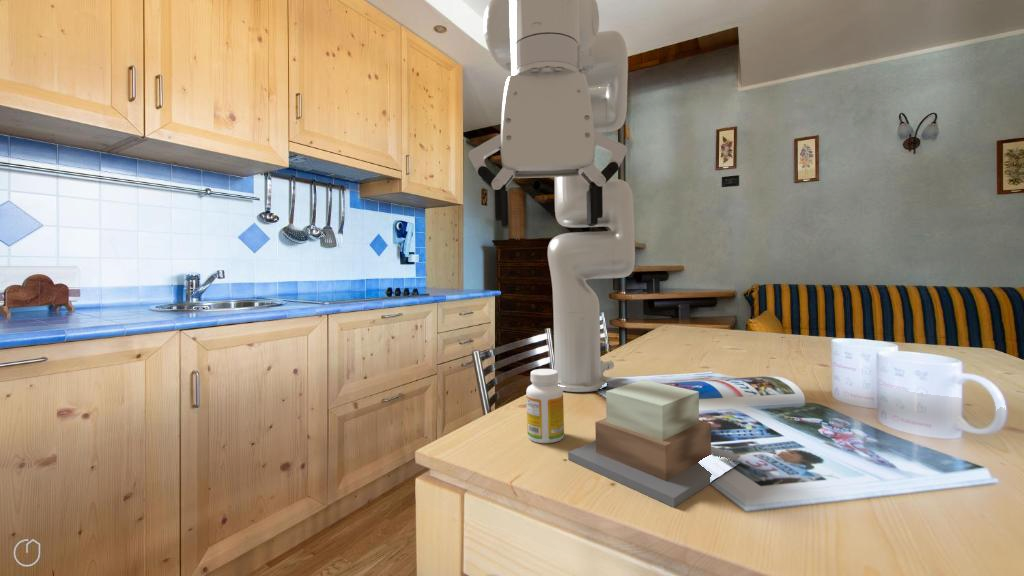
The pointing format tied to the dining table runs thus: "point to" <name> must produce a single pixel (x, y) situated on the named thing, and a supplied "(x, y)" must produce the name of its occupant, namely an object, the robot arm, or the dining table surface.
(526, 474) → the dining table surface
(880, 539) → the dining table surface
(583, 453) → the baseplate
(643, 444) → the two-tone block stack
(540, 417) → the supplement bottle
